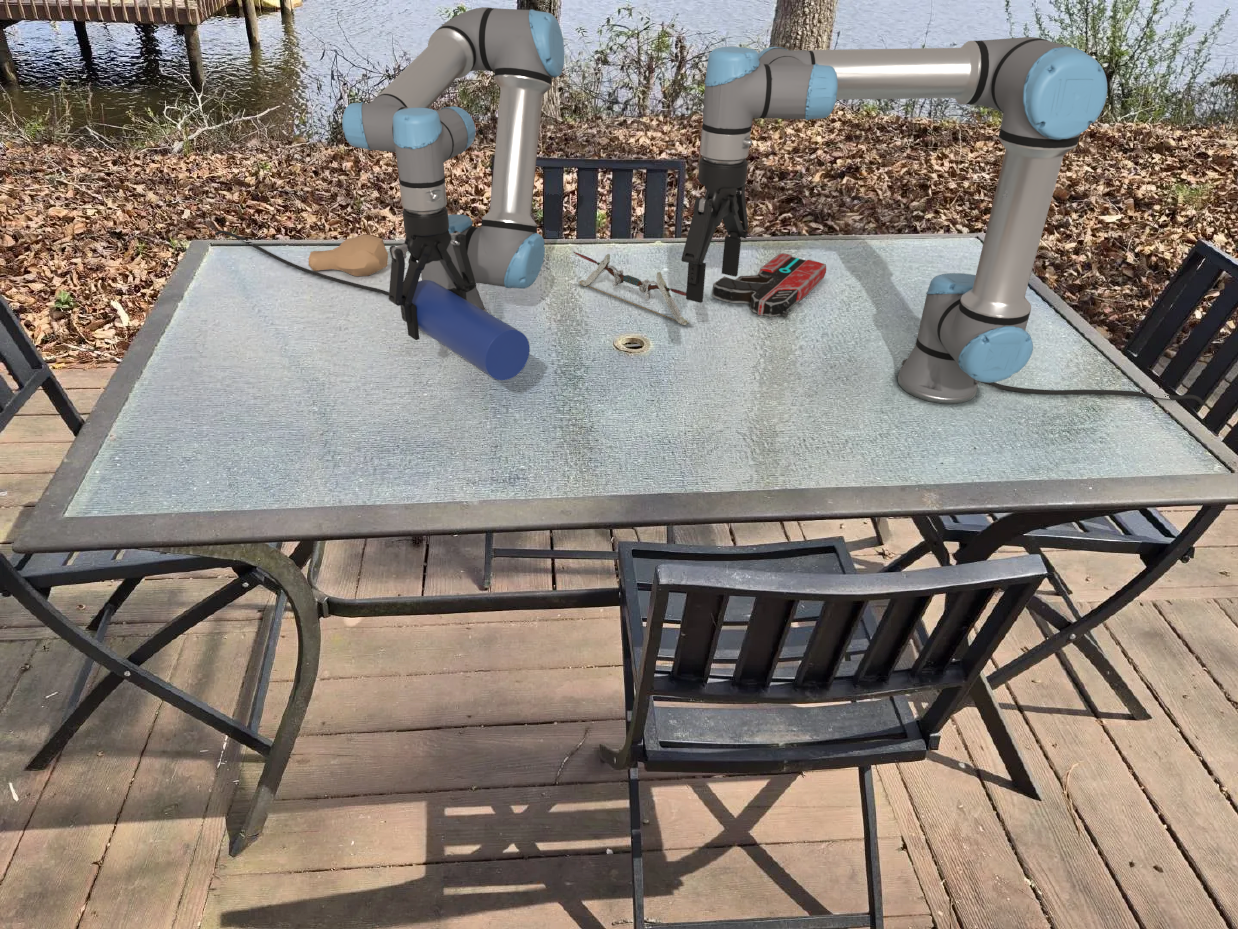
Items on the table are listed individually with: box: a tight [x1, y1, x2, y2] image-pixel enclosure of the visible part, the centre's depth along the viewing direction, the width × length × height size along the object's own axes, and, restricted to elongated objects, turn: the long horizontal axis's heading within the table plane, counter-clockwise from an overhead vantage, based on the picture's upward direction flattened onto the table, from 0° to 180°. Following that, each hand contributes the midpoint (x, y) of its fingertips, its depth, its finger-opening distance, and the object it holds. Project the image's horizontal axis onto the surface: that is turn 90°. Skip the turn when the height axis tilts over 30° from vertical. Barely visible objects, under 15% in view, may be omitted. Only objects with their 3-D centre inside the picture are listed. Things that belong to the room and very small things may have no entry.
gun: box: [711, 252, 827, 318], centre depth 215 cm, size 4×31×19 cm
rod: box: [412, 279, 530, 381], centre depth 152 cm, size 27×9×9 cm, turn 40°
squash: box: [308, 233, 389, 277], centre depth 218 cm, size 11×20×9 cm, turn 90°
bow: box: [573, 251, 690, 326], centre depth 205 cm, size 39×2×10 cm, turn 47°
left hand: (436, 330), depth 160 cm, fingers closed on rod, 9 cm apart
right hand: (712, 287), depth 148 cm, fingers open, 13 cm apart
